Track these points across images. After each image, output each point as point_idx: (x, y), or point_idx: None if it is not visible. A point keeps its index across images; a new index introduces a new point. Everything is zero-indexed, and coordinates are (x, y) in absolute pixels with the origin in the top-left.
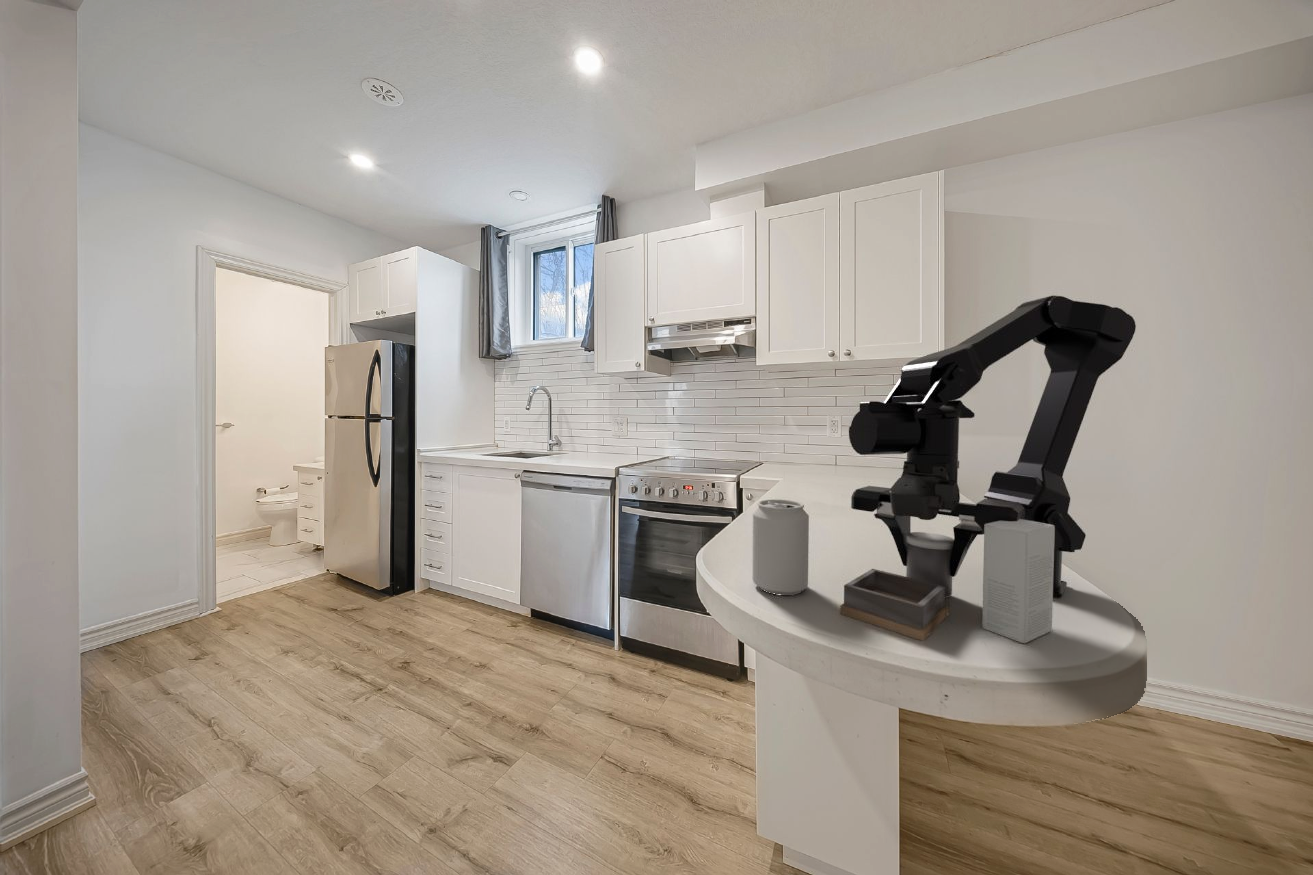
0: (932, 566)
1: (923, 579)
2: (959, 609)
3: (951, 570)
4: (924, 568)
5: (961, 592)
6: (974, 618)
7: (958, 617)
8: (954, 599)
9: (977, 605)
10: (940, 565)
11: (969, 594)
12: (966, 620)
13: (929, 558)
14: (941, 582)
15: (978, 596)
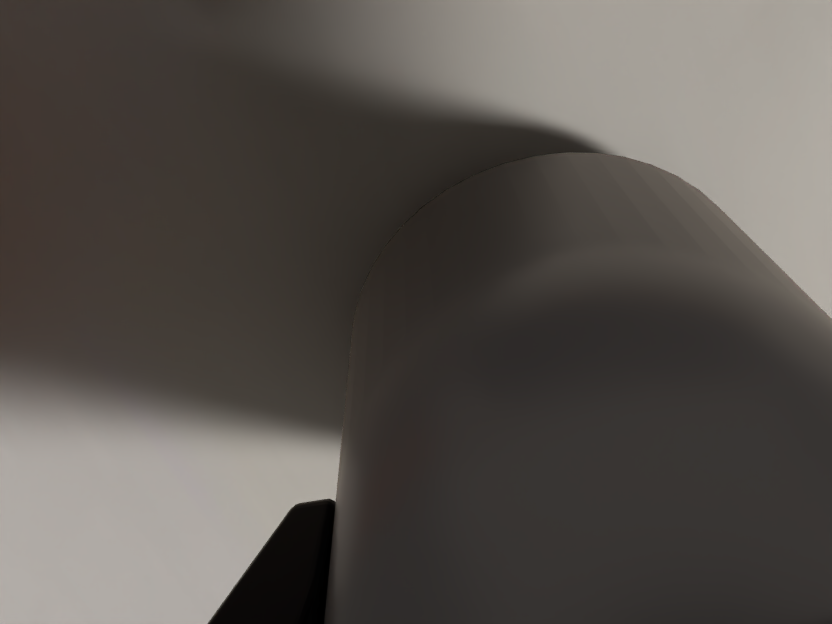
0: (474, 390)
1: (558, 235)
2: (213, 230)
3: (307, 548)
4: (583, 313)
5: None
6: (20, 138)
7: (95, 23)
8: None
9: (194, 427)
10: (381, 484)
11: None
12: (13, 17)
13: (552, 477)
14: (374, 337)
15: None
